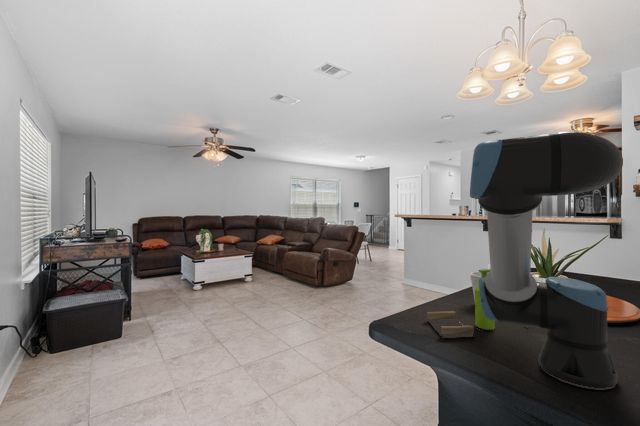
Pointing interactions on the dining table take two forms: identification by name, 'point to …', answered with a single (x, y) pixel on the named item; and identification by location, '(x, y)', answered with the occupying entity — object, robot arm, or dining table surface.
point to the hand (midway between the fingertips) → (511, 277)
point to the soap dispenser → (479, 316)
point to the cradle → (450, 329)
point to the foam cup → (475, 280)
